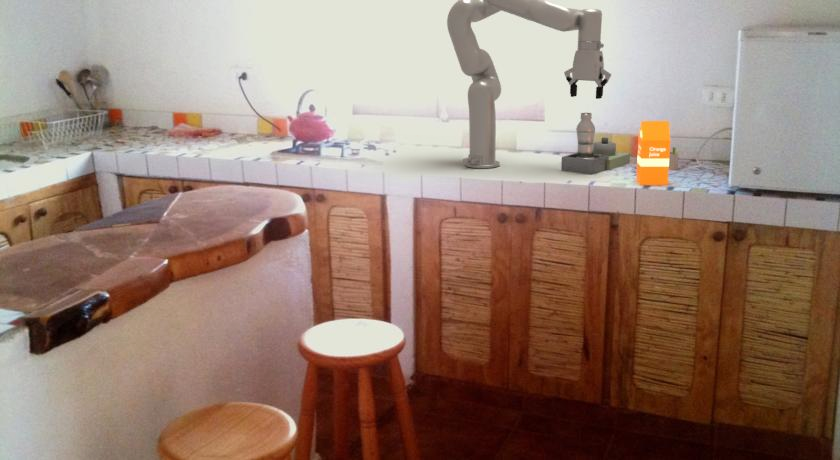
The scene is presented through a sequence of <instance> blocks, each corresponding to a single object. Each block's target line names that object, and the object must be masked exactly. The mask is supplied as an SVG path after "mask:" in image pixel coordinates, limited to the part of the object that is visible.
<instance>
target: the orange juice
mask: <svg viewBox="0 0 840 460" xmlns="http://www.w3.org/2000/svg"><path fill="white" fill-rule="evenodd" d="M670 132H671V131H670V120H655V121H654V120H641V123H640V127H639V132H638V140H637V142H638V143H637V156H636V157H637V159H636V177H635V179H636V181H637V182H638V184H639V185H640V186H668V183H669V170H670V169H669V155H670V151H671V150H670V149H671V133H670Z"/></svg>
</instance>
